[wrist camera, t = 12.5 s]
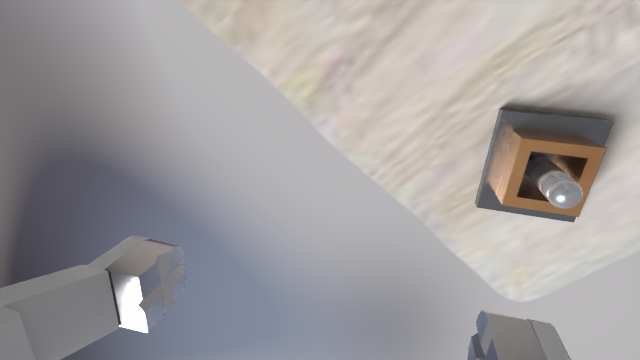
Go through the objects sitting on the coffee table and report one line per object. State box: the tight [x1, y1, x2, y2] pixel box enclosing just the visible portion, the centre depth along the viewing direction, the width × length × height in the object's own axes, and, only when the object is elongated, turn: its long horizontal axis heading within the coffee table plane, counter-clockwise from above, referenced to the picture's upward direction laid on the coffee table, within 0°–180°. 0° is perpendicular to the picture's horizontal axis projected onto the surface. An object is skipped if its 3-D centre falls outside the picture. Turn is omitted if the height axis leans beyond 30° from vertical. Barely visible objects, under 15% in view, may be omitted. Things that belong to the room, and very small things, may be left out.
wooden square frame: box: [495, 130, 606, 217], centre depth 32 cm, size 6×6×3 cm
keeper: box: [475, 109, 613, 222], centre depth 30 cm, size 10×9×8 cm
